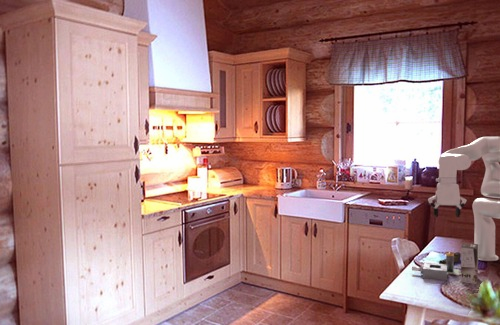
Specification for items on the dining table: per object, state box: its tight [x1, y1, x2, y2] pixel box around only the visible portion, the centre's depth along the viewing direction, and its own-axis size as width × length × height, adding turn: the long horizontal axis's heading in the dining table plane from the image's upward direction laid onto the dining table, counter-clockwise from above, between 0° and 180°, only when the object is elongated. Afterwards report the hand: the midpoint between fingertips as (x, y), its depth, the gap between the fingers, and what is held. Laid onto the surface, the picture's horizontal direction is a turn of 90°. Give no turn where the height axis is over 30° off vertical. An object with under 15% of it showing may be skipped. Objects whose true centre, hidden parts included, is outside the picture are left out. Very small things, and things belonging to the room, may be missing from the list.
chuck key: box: [445, 251, 455, 272], centre depth 202 cm, size 3×3×9 cm
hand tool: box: [438, 251, 461, 264], centre depth 214 cm, size 19×4×5 cm, turn 127°
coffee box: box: [460, 242, 479, 285], centre depth 190 cm, size 9×6×16 cm
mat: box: [447, 268, 460, 276], centre depth 202 cm, size 8×8×1 cm
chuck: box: [411, 261, 448, 282], centre depth 197 cm, size 10×15×5 cm, turn 64°
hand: (446, 216), depth 201 cm, fingers open, 9 cm apart
